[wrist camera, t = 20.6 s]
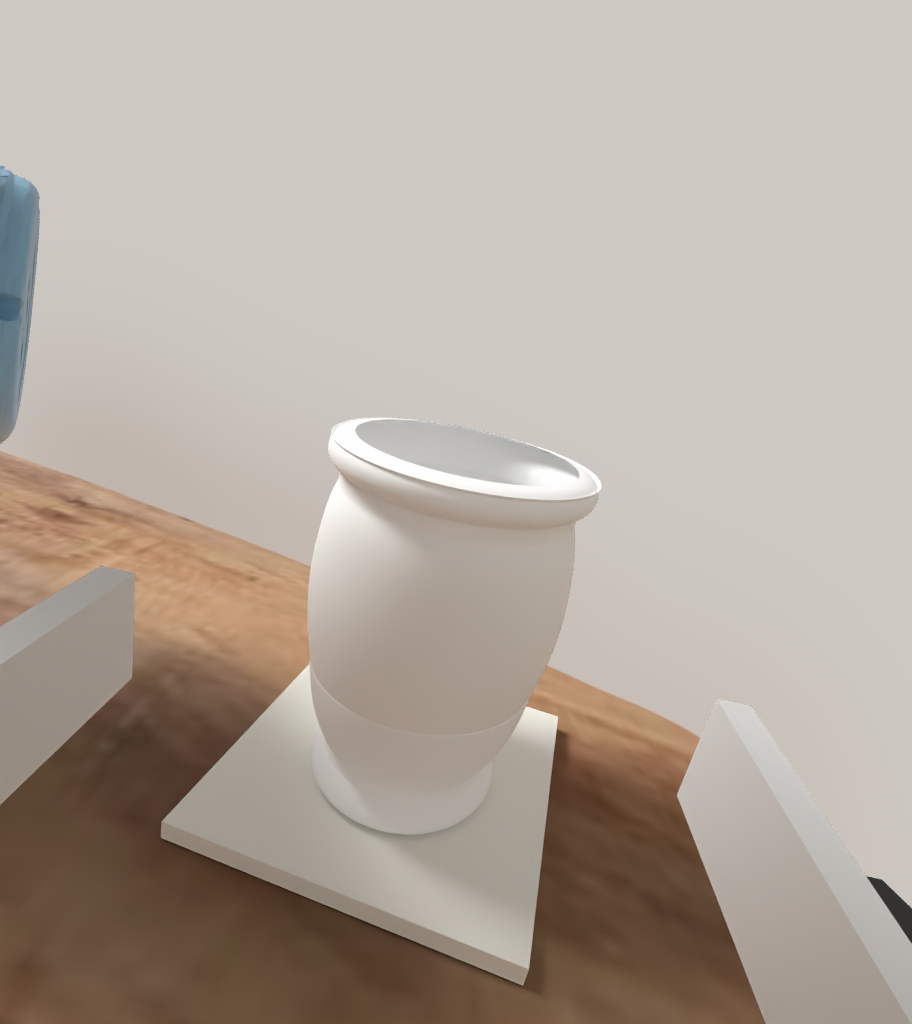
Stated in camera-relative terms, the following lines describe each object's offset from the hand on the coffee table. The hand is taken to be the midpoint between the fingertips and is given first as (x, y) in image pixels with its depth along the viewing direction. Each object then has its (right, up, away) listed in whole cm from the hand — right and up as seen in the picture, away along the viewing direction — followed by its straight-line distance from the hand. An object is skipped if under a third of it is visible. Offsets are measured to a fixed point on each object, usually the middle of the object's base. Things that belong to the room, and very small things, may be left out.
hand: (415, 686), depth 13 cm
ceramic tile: (-2, -8, +14) cm, 16 cm away
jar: (-2, -8, +14) cm, 16 cm away
